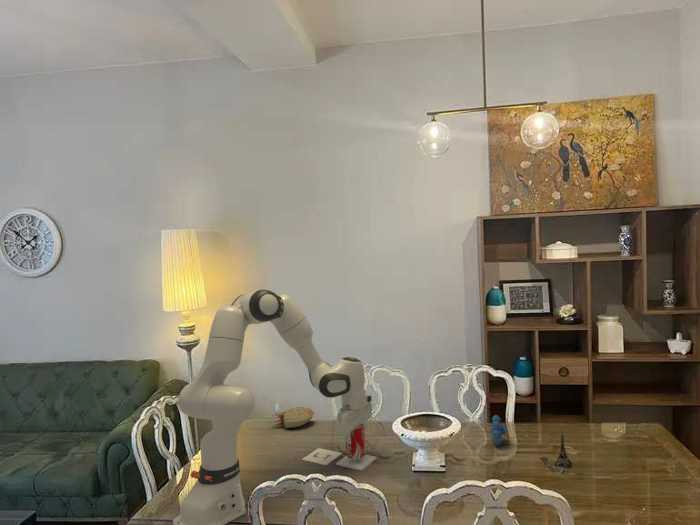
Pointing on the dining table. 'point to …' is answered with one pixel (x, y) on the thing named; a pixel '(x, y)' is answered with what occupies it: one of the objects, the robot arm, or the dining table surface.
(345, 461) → the coaster
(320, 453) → the card
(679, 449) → the dining table surface
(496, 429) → the blue figurine
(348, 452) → the soda can
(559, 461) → the eiffel tower figurine
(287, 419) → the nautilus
